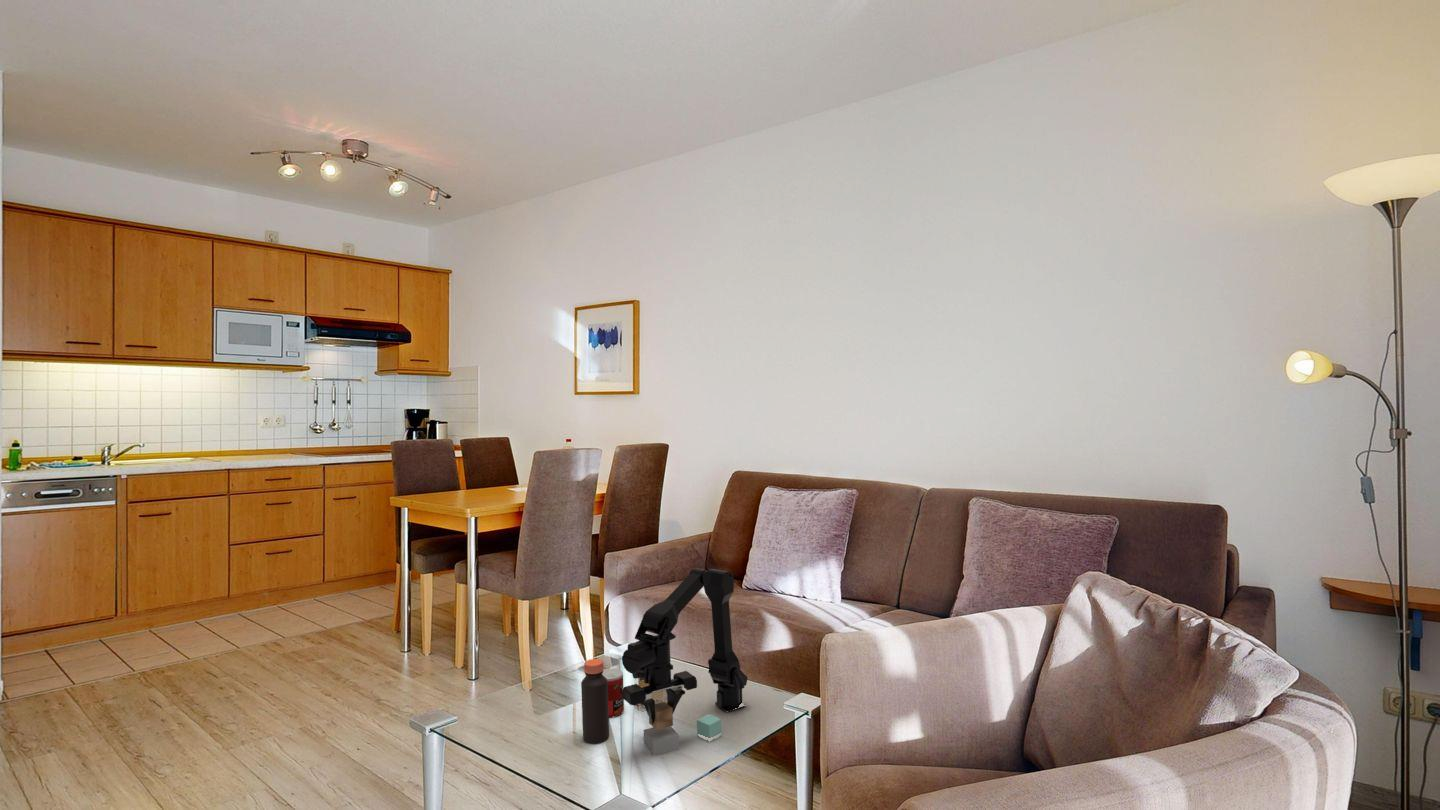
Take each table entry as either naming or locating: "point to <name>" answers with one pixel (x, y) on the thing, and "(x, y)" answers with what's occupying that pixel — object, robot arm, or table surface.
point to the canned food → (614, 691)
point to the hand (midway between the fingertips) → (661, 720)
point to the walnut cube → (662, 716)
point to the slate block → (661, 740)
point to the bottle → (595, 703)
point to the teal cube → (709, 726)
